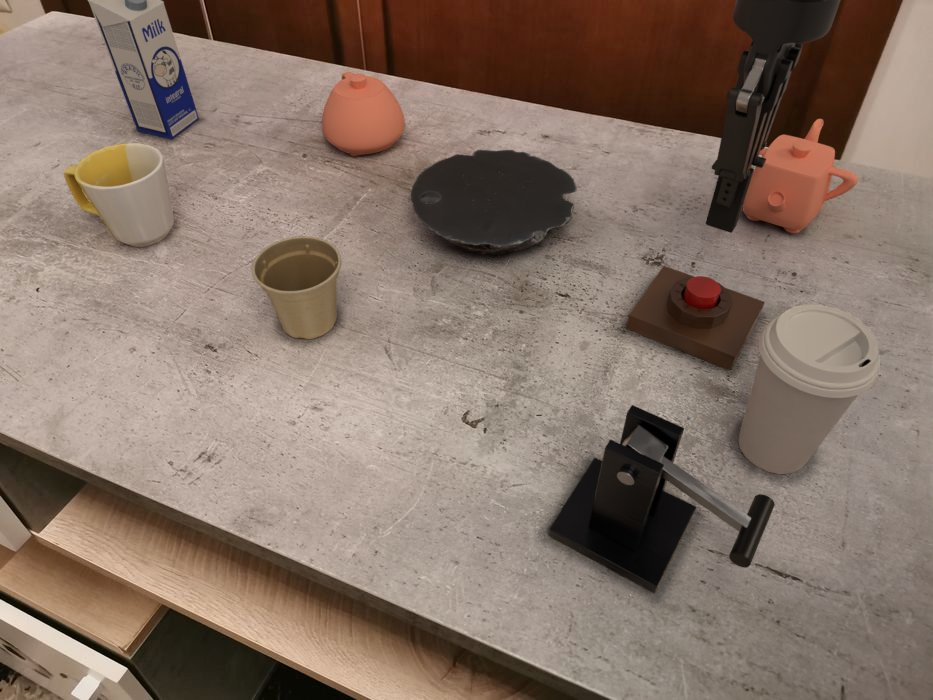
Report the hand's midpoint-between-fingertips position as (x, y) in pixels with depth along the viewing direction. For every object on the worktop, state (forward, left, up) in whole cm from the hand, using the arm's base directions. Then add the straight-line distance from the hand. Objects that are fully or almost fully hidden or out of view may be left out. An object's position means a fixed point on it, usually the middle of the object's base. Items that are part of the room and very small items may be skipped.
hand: (720, 224), depth 73 cm
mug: (+68, +22, -14) cm, 73 cm away
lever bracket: (-4, +28, -13) cm, 31 cm away
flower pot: (+37, +23, -14) cm, 46 cm away
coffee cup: (-13, +13, -14) cm, 22 cm away
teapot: (-2, -26, -14) cm, 29 cm away
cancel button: (0, 0, -10) cm, 10 cm away
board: (+29, -4, -14) cm, 32 cm away
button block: (0, 0, -13) cm, 13 cm away
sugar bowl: (+57, -12, -14) cm, 60 cm away
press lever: (-8, +28, -5) cm, 30 cm away
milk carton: (+86, +1, -14) cm, 87 cm away
